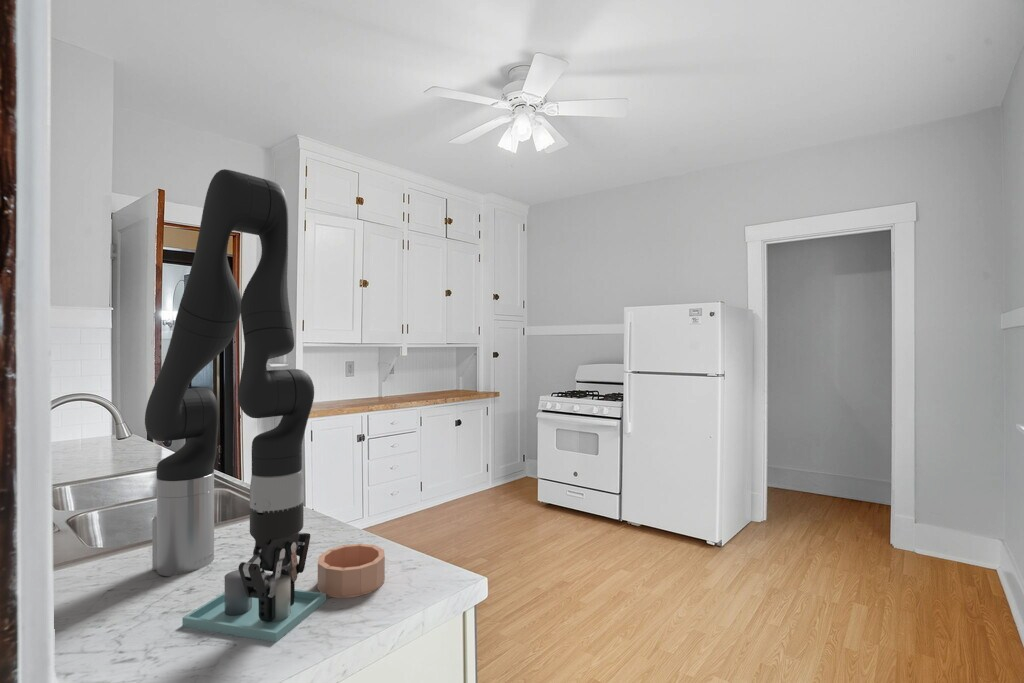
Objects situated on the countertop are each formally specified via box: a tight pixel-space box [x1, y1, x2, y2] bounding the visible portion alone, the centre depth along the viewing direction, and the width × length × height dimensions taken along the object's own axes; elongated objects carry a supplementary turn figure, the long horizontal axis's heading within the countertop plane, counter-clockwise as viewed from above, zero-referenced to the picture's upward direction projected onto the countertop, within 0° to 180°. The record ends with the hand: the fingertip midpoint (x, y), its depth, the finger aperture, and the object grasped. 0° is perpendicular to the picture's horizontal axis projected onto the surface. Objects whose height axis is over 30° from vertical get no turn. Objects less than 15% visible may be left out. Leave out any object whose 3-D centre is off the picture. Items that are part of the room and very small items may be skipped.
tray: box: [182, 587, 327, 643], centre depth 84 cm, size 16×12×2 cm
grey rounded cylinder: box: [224, 569, 252, 616], centre depth 84 cm, size 4×4×6 cm
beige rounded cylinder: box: [265, 574, 291, 622], centre depth 83 cm, size 4×4×6 cm
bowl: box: [317, 543, 386, 599], centre depth 94 cm, size 11×11×5 cm
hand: (277, 612), depth 83 cm, fingers closed on beige rounded cylinder, 3 cm apart
